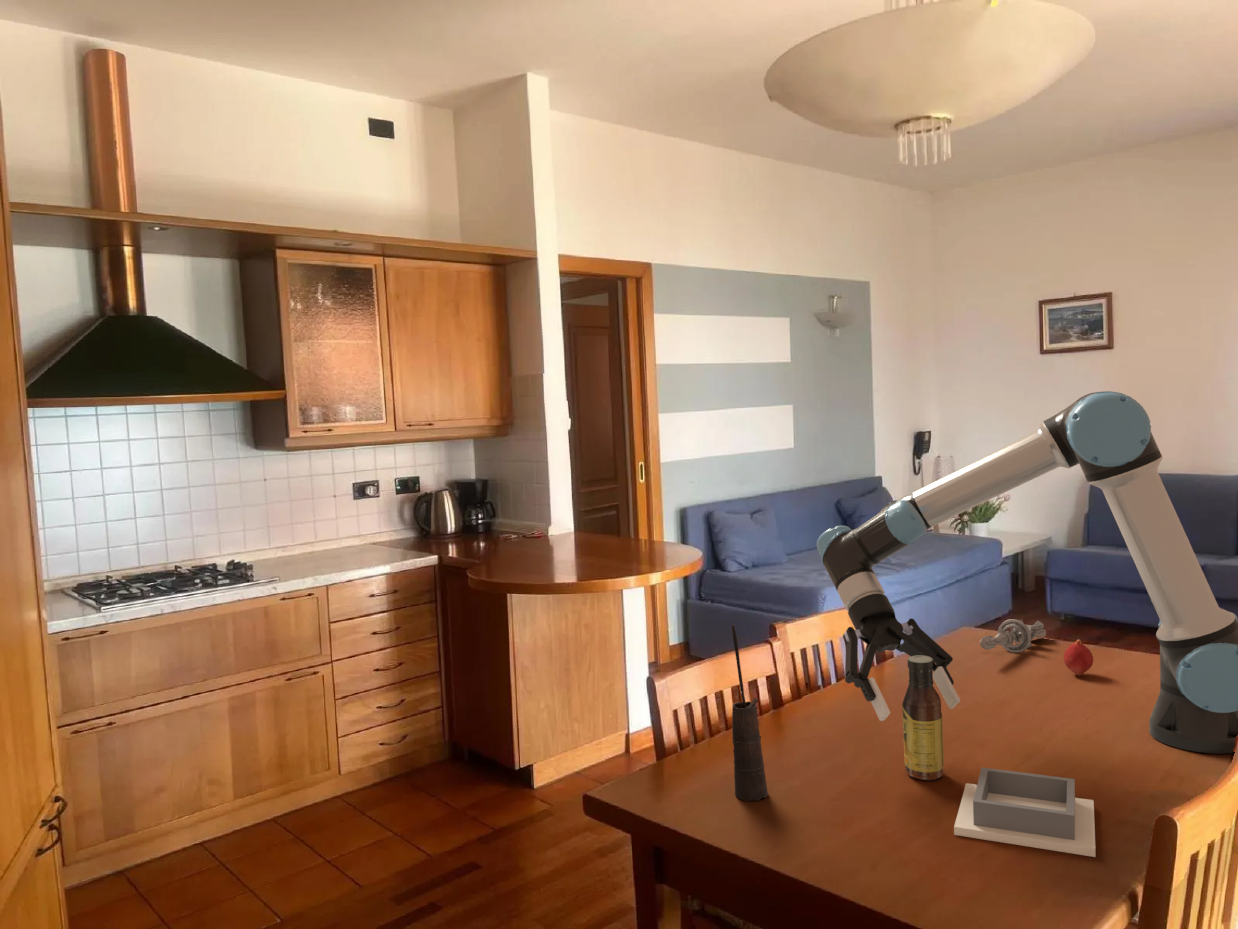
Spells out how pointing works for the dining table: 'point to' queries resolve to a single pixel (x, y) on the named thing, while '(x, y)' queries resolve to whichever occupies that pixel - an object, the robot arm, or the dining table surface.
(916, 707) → the sauce bottle
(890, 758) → the dining table surface
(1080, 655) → the onion
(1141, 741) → the dining table surface
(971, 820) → the bottle stand
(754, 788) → the butter churn
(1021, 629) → the spaceship
